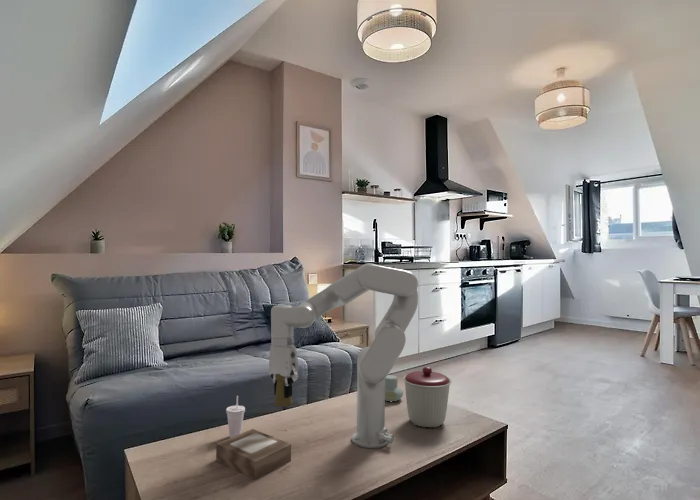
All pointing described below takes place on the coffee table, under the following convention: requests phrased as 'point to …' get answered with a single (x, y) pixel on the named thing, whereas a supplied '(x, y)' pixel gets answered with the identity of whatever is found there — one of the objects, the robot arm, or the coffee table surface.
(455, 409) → the coffee table surface
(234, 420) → the smoothie
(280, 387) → the cork
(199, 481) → the coffee table surface
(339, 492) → the coffee table surface
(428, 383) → the canister
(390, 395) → the air freshener
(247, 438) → the pedestal
